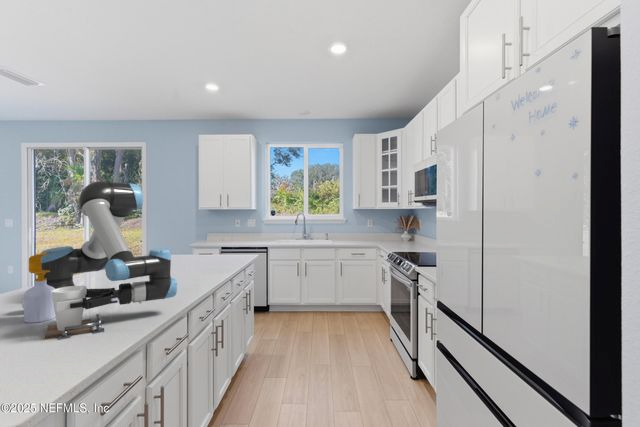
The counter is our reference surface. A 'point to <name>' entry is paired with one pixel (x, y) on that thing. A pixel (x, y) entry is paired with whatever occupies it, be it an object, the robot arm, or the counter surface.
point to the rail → (95, 323)
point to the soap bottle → (38, 294)
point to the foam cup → (73, 315)
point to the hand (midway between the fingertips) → (58, 301)
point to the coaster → (54, 332)
